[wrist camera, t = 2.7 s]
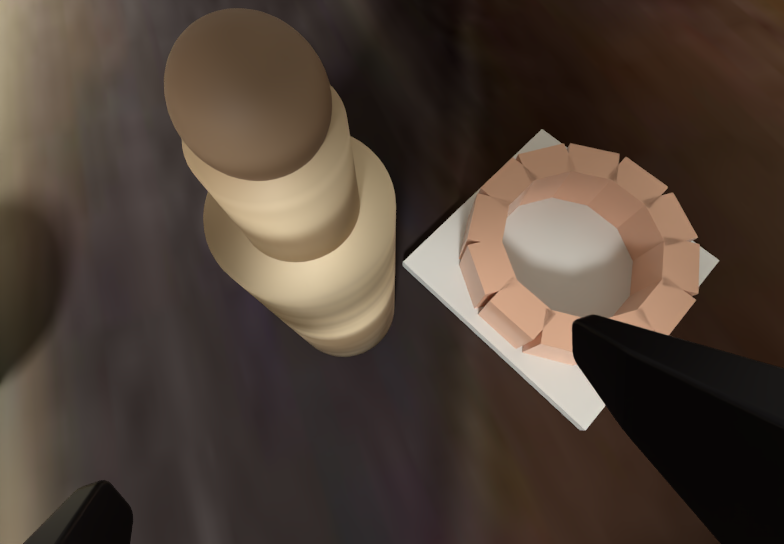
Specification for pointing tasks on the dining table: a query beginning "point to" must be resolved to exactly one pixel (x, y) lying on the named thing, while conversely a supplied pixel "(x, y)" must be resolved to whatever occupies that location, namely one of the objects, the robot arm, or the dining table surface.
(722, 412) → the robot arm
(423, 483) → the dining table surface
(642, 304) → the ring
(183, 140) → the pepper mill
